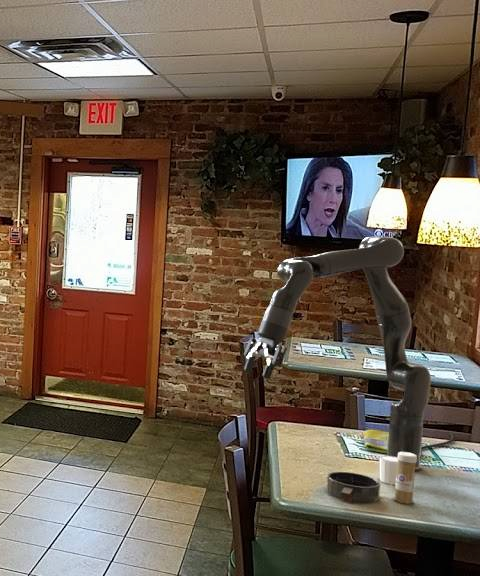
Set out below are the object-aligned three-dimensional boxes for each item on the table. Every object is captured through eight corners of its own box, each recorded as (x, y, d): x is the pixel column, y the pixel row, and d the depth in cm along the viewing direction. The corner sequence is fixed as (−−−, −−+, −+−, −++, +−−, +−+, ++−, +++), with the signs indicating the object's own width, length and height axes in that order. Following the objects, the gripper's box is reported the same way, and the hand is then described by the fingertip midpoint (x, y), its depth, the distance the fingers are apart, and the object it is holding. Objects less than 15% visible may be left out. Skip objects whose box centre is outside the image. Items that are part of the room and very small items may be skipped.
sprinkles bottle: (392, 501, 212) (396, 453, 211) (396, 497, 215) (399, 450, 214) (411, 505, 209) (415, 457, 208) (414, 501, 212) (418, 453, 211)
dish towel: (362, 450, 261) (362, 442, 261) (364, 434, 282) (364, 427, 282) (421, 459, 253) (422, 451, 252) (419, 442, 274) (419, 434, 274)
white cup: (394, 486, 224) (396, 463, 224) (372, 479, 230) (374, 456, 230) (408, 483, 227) (410, 460, 227) (386, 476, 234) (388, 454, 233)
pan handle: (344, 499, 212) (345, 486, 211) (352, 501, 210) (353, 488, 210) (339, 506, 207) (340, 492, 206) (348, 508, 205) (349, 493, 205)
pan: (331, 483, 225) (332, 468, 225) (382, 494, 217) (383, 478, 217) (322, 495, 214) (323, 480, 214) (374, 507, 207) (376, 490, 206)
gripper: (301, 331, 221) (281, 384, 221) (269, 324, 235) (250, 373, 235) (281, 323, 219) (261, 376, 219) (250, 316, 233) (231, 366, 233)
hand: (256, 374), depth 227 cm, fingers open, 8 cm apart
